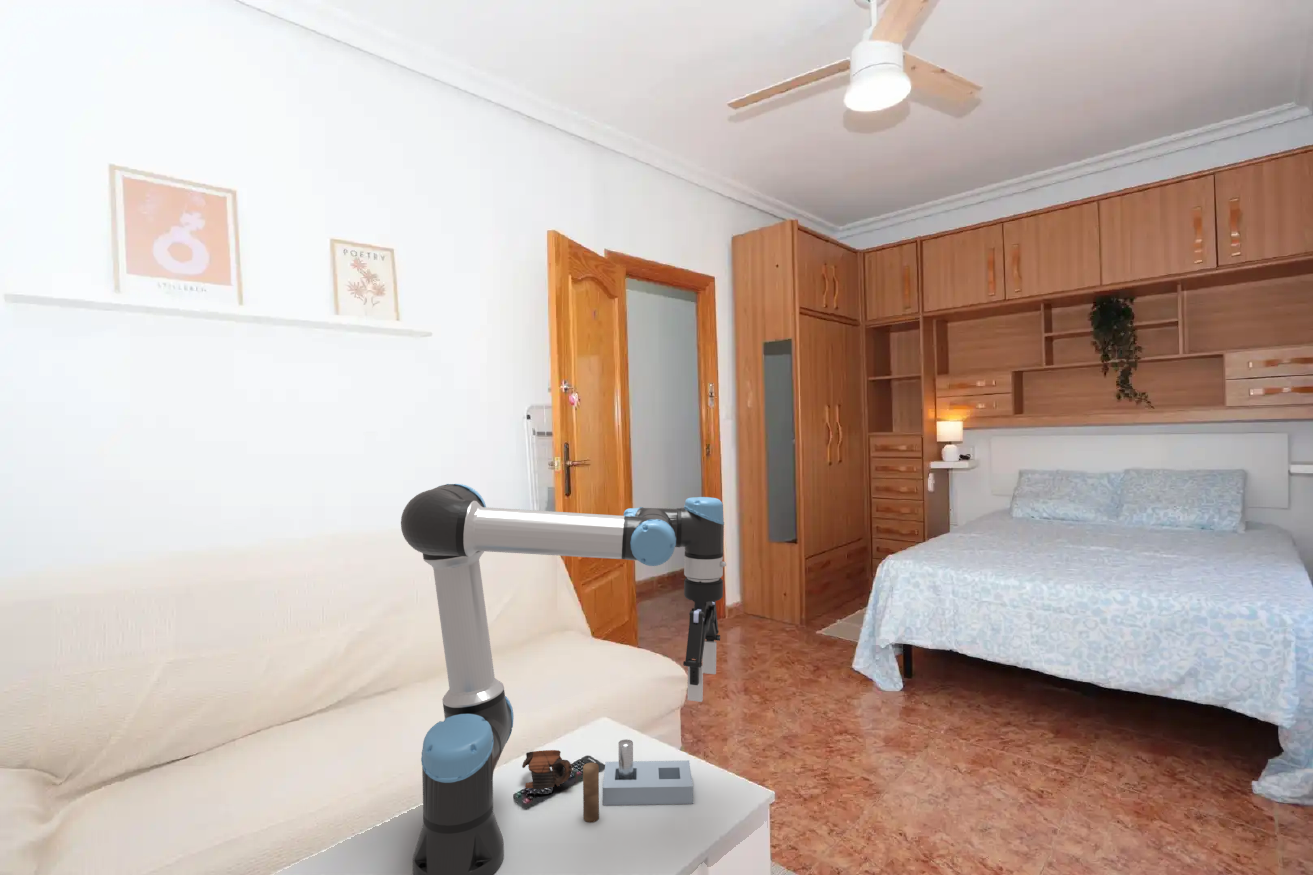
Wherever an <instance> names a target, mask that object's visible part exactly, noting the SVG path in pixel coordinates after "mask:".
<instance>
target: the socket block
mask: <svg viewBox="0 0 1313 875" xmlns="http://www.w3.org/2000/svg"><path fill="white" fill-rule="evenodd" d="M689 804H690V805H691V804H694V785H693V778H692V771H691V763H690V760H686V759H685V760H644V761H643V760H641V761H640V760H639V761H635V760H633V780H619V761H605V764H604V773H603V782H602V806H631V805H632V806H633V805H634V806H635V805H636V806H637V805H638V806H639V805H640V806H642V805H689Z"/></svg>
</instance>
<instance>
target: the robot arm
mask: <svg viewBox="0 0 1313 875" xmlns="http://www.w3.org/2000/svg"><path fill="white" fill-rule="evenodd" d="M724 520H725V519H724V504H723V502H722V501H721V499H719V498H717V497H710V496H698V497H695V496H694V497H693V496H692V497H688V498H686V499H685V501H684V505H683V507H680V508H678V507H677V508H668V507H667V508H663V507H662V508H660V507H659V508H658V507H657V508H656V507H642V506H640V507H635V508H634V507H632V508H630V507H629V508H627V509H625V510H624V512H623V515H617V514H616V515H615V514H599V513H598V514H597V513H586V512H585V513H583V512H582V513H580V512H566V511H554V510H553V511H550V510H535V509H534V510H533V509H520V508H519V509H517V508H501V507H488V506H487V505H486V502H485V500H484V498H483V497H482V495H481V494H480V493H479V492H478V491H477V490H476V489H474V488H473V487H471V486H469V485H466V484H463V483H446V484H441V485H439V486H436V487H435V488H432V489H431V488H430V489H428V490H424V491H422V492H420V493H418V494H416V495H415V496H414V497H412V498H411V499H410V500H409V501H408V503H407V504H406V505H405V507H404V509H403V511H402V514H401V518H400V528H401V529H400V530H401V532H402V535H403V538H404V540H405V541H406V542H407V544H408V545H409V546H410V547H411V548H412V549H413V550H415V551H417V552H418V553H421V554H422V558H423V561H424V562H425V563H427V564H428V565H430V566H431V567H432V569H433V576H434V577H433V578H434V583H435V584H434V585H435V591H436V601H437V607H438V615H439V620H440V629H441V636H442V643H443V650H444V658H445V666H446V672H447V673H446V674H447V681H448V690H447V691H446V693H445V694H444V695H443V697H442V699H441V700H442V707H443V714H444V720H443V721H442V720H440V721H437V723H435V724H434V725H432V726H431V727H430V729H429V730H428V731H427V732H426V734H425V735H424V738H423V741H422V742H423V743H422V749H421V750H422V751H421V758H420V762H421V767H422V768H421V769H422V770H421V771H422V772H421V774H422V775H421V776H422V812H423V813H422V814H423V816H422V818H423V819H422V826H421V830H420V832H419V836H418V840H417V842H416V846H415V849H414V851H413V857H412V875H494V874H495V873H496V872H497V871H498V869H499V868H500V867H501V865H502V863H503V860H504V856H505V850H504V849H505V846H504V845H505V844H504V843H505V842H504V838H503V837H504V836H503V835H502V832H501V829H500V826H499V824H498V820H497V818H496V816H495V812H494V780H493V779H494V772H495V768H496V766H497V764H498V762H499V761H500V760H499V759H501V758H500V757H501V755H502V752H503V751H504V748H505V746H506V744H507V743H508V741H509V739H510V736H511V735H512V731H513V728H514V710H513V709H514V708H513V706H512V703H511V701H510V700H509V697H508V696H506V693H505V686H504V683H503V682H501V680H498V679H497V678H496V677H495V672H494V663H493V662H494V661H493V655H492V648H491V641H490V640H491V639H490V632H489V626H488V625H489V624H488V616H487V610H486V609H487V608H486V602H485V593H484V587H483V578H482V572H481V566H480V565H481V563H480V559H481V557H482V555H483V554H484V553H485V552H489V553H504V554H505V553H506V554H507V553H509V554H510V553H511V554H523V555H524V554H528V555H541V556H543V555H545V556H560V557H577V558H578V557H579V558H580V557H581V558H596V559H613V560H614V559H616V560H625V561H626V560H627V561H638V562H640V563H641V564H643V565H645V566H649V567H658V566H661V565H664V563H666V562H668V561H669V560H670V559H671V557H672V556H673V554H674V552H675V548H684V559H683V560H684V561H683V562H684V563H683V565H684V566H683V567H684V568H683V576H685V579H684V582H683V583H684V584H683V586H684V587H683V588H684V589H683V591H684V592H683V596H684V597H685V598H686V599H687V600H689V601H692V602H694V606H693V607H692V608H691V610H690V611H689V621H688V622H689V623H688V624H689V625H688V634H687V642H686V643H687V644H686V651H685V652H686V654H685V661H683V662H682V664H683V666H684V667H687V701H691V702H692V701H693V702H699V703H702V702H703V701H704V700H703V698H704V696H703V693H704V692H703V690H704V689H703V688H704V674H707V675H716V674H717V641H718V642H719V641H721V635H720V634H719V625H718V613H717V612H718V611H717V601H720V600H721V599H723V597H724V580H723V579H722V577H723V575H724V568H725V567H726V566H727V561H723V560H724V537H725V536H724V535H725V534H724V532H725V531H724V530H725V522H724Z"/></svg>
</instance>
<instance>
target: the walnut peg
mask: <svg viewBox="0 0 1313 875" xmlns="http://www.w3.org/2000/svg"><path fill="white" fill-rule="evenodd" d="M599 767H600V765H599V764H598V763H596V762H588V763H585V764H583V766H582V776H583V777H582V782H583V784H582V794H583V795H582V799H583V800H582V803H583V806H582V807H583V810H582V811H583V815H582V816H583V817H582V818H583V820H584V822H586V823H595V822H597V821H598V820H599V818H600V789H599V788H600V786H599V785H600V779H599V778H600V777H599V776H600V774H599V773H600V772H599V770H600V768H599Z"/></svg>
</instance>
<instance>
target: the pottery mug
mask: <svg viewBox="0 0 1313 875" xmlns="http://www.w3.org/2000/svg"><path fill="white" fill-rule="evenodd" d="M525 755H526V757H525V759H524V761H523V763H522V764H521V767H522V768H523V769H525V768H526V767H528V770H529V771H530V772H531V779H532V780H531V781H530V782H525V785H524V786H525V789H526V788H533V789H543V788H548V787H554V788H555V785H556V786H557V787H558V786H559V785H560V784H562V785H563V783H566V782H567V781H568V780H569V779H570V777H571V774H572V772H573V767H572V764H571V762H570V761H569V760H567V759H563V758H562V757H561V751H560V750H559V749H558V750H557V749H547V750H535V751H534V750H533V751H529V752H526V753H525Z"/></svg>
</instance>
